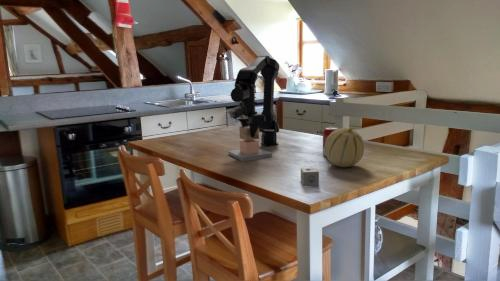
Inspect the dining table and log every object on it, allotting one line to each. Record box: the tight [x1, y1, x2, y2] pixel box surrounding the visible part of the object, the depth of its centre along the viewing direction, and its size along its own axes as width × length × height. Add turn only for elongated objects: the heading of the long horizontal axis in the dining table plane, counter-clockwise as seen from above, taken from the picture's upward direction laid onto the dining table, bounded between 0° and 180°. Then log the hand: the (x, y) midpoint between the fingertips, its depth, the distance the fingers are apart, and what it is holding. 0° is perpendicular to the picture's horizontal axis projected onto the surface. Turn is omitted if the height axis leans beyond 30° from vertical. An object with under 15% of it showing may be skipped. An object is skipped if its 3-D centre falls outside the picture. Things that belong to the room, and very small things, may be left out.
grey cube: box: [300, 166, 320, 187], centre depth 129 cm, size 5×5×5 cm
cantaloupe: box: [325, 127, 365, 168], centre depth 147 cm, size 15×15×15 cm
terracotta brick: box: [239, 139, 260, 154], centre depth 168 cm, size 6×6×5 cm
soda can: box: [322, 126, 339, 158], centre depth 163 cm, size 7×7×12 cm
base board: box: [227, 147, 273, 162], centre depth 169 cm, size 14×14×2 cm
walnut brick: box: [238, 125, 260, 141], centre depth 167 cm, size 6×6×5 cm
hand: (249, 136), depth 167 cm, fingers closed on walnut brick, 6 cm apart
